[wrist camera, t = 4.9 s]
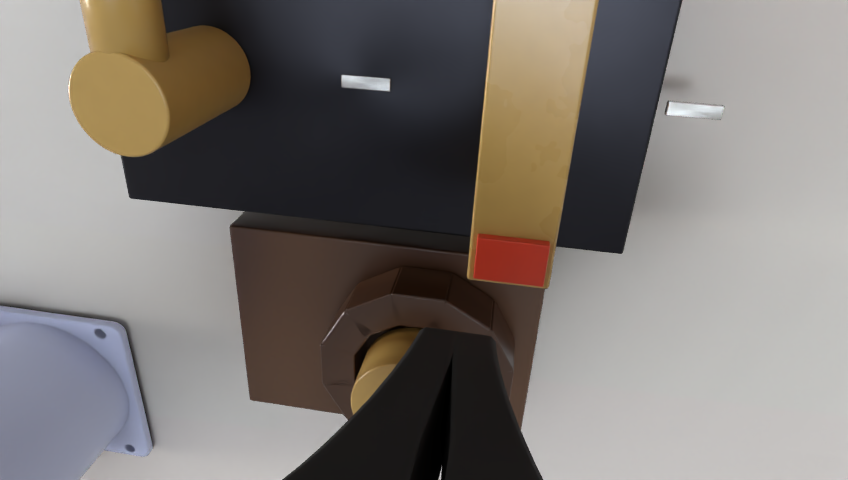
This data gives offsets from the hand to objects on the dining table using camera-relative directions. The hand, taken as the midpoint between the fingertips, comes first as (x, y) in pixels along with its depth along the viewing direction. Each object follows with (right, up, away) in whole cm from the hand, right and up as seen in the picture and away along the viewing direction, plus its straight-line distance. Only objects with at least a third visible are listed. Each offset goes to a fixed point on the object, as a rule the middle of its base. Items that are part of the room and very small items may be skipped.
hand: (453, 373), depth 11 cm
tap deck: (-2, +8, +8) cm, 12 cm away
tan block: (+2, +6, +5) cm, 8 cm away
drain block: (-2, 0, +12) cm, 12 cm away
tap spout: (-7, +9, +5) cm, 12 cm away
